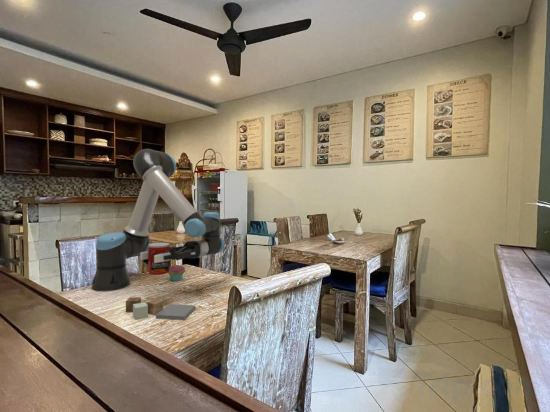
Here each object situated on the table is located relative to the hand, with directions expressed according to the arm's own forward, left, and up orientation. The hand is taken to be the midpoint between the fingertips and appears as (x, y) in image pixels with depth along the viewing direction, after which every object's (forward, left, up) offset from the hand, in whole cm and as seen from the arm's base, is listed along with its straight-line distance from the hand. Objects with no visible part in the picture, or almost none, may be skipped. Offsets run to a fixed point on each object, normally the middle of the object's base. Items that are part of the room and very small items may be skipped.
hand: (147, 257), depth 110 cm
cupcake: (-5, +35, -18) cm, 39 cm away
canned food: (+2, +4, -7) cm, 8 cm away
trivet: (+13, -5, -18) cm, 23 cm away
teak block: (+5, -5, -18) cm, 20 cm away
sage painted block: (+2, -9, -18) cm, 21 cm away
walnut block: (-3, -4, -18) cm, 19 cm away
